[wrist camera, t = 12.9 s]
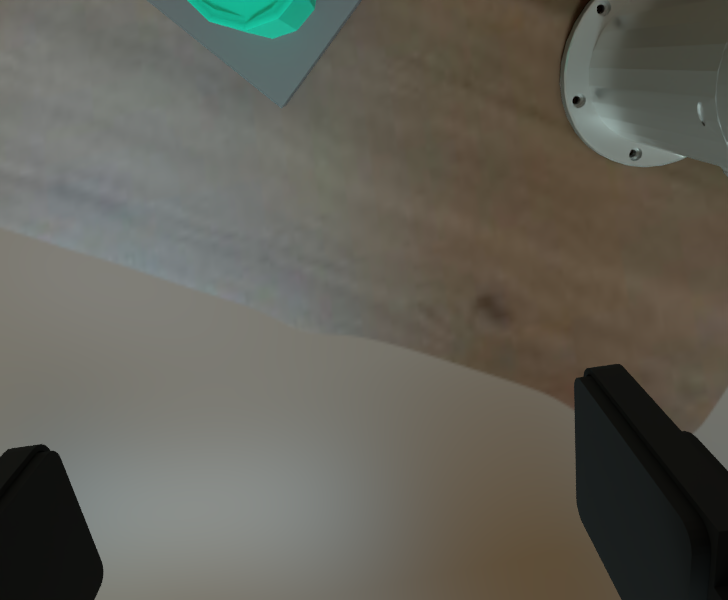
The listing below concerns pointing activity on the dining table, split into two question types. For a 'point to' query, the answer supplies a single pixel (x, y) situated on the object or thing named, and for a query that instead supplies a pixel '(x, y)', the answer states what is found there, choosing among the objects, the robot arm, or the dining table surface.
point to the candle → (257, 15)
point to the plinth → (266, 45)
